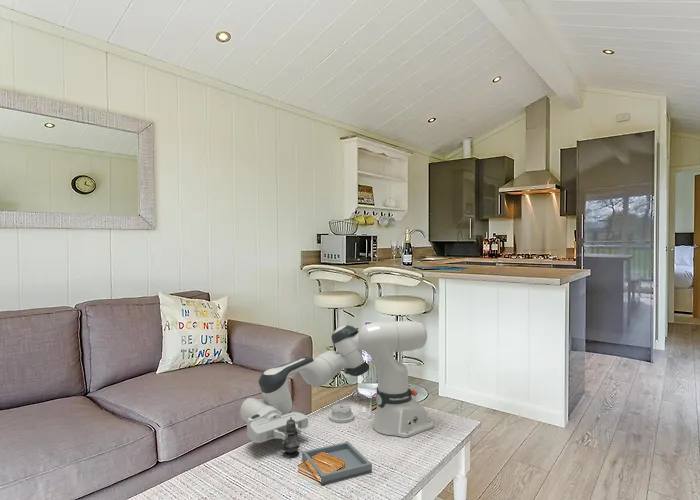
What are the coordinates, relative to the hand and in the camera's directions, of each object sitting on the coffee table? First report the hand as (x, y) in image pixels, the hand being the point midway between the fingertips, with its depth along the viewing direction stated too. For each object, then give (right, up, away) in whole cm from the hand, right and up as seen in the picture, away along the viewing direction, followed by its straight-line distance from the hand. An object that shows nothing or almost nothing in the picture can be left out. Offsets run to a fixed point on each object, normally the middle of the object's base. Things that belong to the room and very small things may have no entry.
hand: (292, 434), depth 141 cm
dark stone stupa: (-1, -7, +1) cm, 7 cm away
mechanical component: (+15, -6, +30) cm, 34 cm away
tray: (+14, -7, -6) cm, 17 cm away
